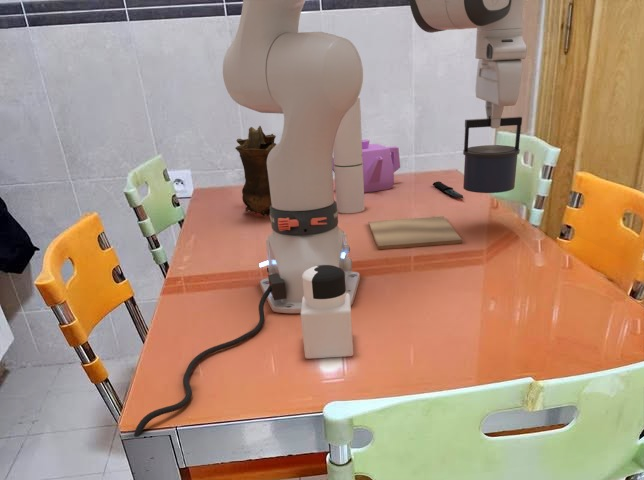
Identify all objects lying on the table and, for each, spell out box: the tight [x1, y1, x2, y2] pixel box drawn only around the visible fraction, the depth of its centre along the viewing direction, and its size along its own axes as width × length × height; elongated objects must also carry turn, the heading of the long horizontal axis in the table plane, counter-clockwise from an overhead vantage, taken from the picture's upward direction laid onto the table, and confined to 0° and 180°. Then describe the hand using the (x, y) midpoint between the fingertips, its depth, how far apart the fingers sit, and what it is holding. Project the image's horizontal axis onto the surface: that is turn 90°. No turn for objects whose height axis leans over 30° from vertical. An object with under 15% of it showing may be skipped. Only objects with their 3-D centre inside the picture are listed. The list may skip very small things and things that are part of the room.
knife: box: [432, 180, 465, 199], centre depth 175 cm, size 21×1×3 cm
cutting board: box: [368, 215, 463, 250], centre depth 146 cm, size 20×18×1 cm
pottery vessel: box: [234, 125, 277, 217], centre depth 163 cm, size 25×11×20 cm, turn 7°
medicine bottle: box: [300, 265, 354, 360], centre depth 94 cm, size 7×7×12 cm
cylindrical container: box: [333, 96, 366, 214], centre depth 159 cm, size 7×7×25 cm
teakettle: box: [332, 139, 401, 194], centre depth 183 cm, size 17×17×12 cm
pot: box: [462, 116, 523, 194], centre depth 138 cm, size 12×12×13 cm
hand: (492, 127), depth 135 cm, fingers closed on pot
